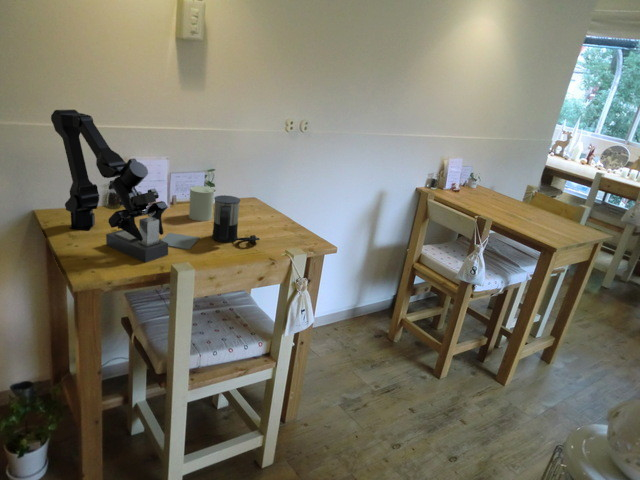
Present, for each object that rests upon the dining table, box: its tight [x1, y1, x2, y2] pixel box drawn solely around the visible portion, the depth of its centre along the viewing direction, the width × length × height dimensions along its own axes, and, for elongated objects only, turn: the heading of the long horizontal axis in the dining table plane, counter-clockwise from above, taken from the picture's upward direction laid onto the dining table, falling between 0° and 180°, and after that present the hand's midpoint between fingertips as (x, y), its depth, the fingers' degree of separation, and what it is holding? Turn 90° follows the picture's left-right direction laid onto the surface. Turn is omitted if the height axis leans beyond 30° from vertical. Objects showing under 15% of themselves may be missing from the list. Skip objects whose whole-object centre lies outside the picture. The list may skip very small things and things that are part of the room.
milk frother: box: [211, 194, 261, 243], centre depth 172 cm, size 14×16×15 cm
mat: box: [160, 232, 200, 250], centre depth 167 cm, size 11×11×1 cm
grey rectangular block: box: [138, 216, 160, 248], centre depth 151 cm, size 4×4×10 cm
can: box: [188, 185, 215, 222], centre depth 191 cm, size 9×9×12 cm
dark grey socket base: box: [105, 229, 169, 264], centre depth 155 cm, size 18×9×5 cm, turn 59°
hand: (152, 237), depth 151 cm, fingers open, 8 cm apart
